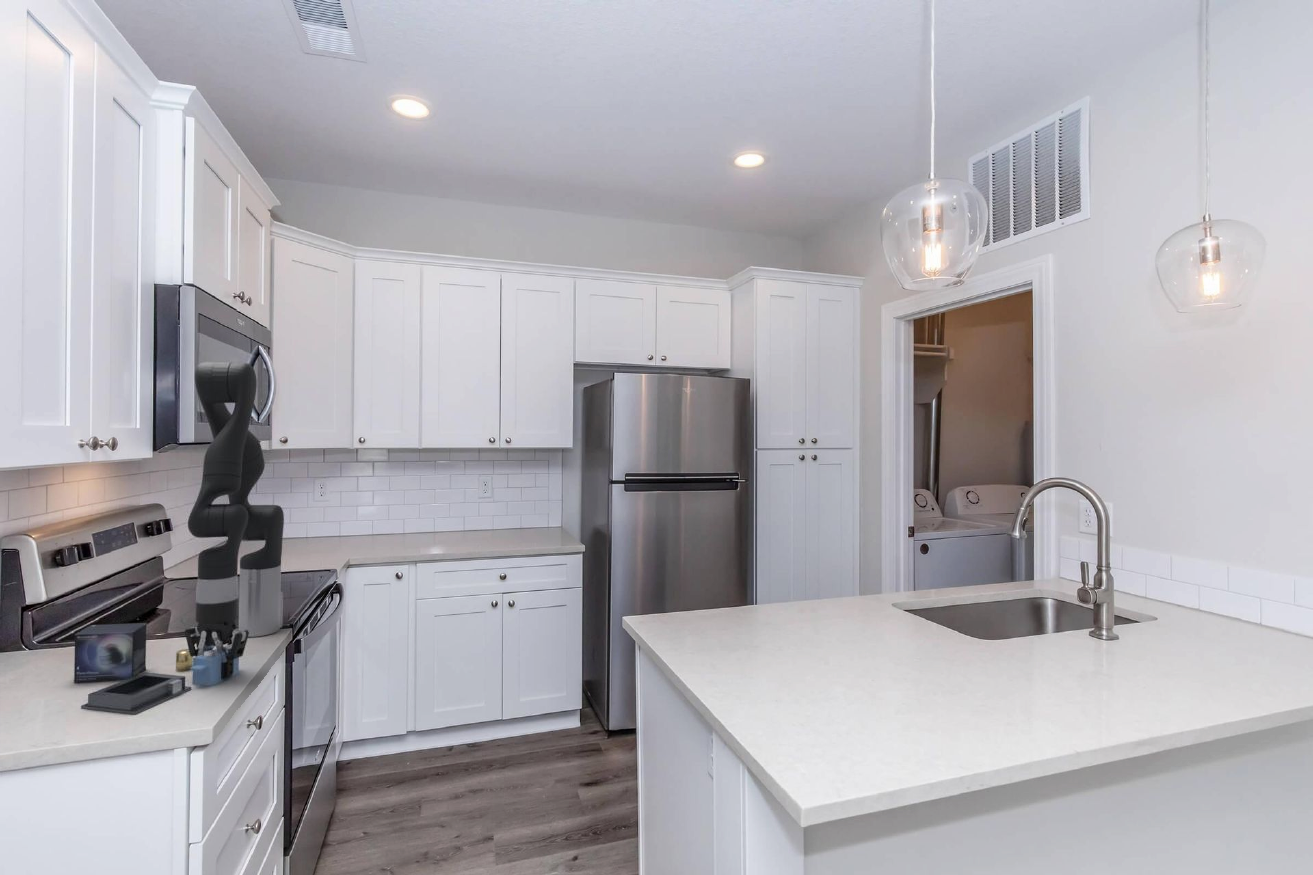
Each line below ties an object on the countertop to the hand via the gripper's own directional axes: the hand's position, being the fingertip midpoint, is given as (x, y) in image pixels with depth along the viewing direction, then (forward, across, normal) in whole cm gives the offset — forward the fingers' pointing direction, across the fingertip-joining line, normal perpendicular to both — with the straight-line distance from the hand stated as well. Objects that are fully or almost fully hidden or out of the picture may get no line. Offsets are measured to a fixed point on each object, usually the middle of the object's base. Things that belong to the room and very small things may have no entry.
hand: (216, 676), depth 138 cm
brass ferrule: (0, +11, -3) cm, 11 cm away
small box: (+1, +22, +4) cm, 22 cm away
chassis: (0, +6, +12) cm, 13 cm away
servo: (0, 0, 0) cm, 0 cm away
